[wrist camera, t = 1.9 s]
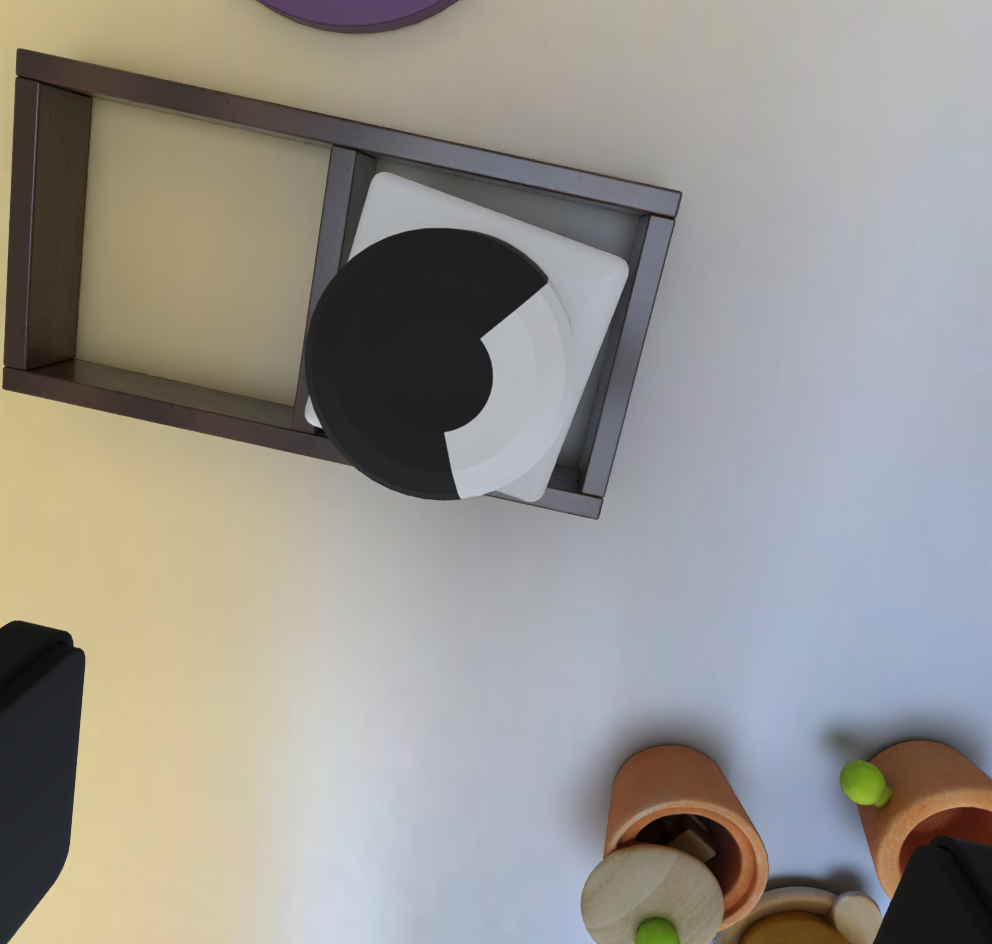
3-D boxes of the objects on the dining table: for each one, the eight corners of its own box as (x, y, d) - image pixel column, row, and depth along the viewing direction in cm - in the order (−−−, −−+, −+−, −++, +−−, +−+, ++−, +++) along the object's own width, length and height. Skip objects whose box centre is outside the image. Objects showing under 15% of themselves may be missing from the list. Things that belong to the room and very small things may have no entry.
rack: (52, 375, 31) (1, 389, 28) (71, 66, 28) (15, 46, 25) (594, 494, 31) (598, 520, 28) (669, 196, 28) (683, 191, 25)
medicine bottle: (356, 381, 30) (233, 470, 19) (416, 183, 28) (320, 146, 17) (542, 447, 30) (535, 577, 19) (615, 256, 28) (657, 269, 17)
